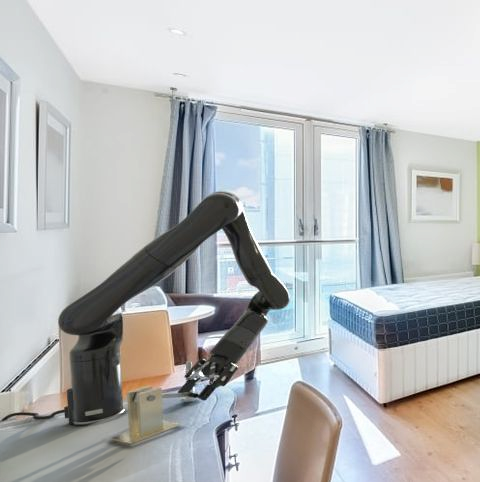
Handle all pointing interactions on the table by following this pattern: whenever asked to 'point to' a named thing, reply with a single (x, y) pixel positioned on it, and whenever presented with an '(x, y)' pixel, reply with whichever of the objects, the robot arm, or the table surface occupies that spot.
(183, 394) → the lever
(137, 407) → the bracket
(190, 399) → the screw
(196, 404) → the table surface
